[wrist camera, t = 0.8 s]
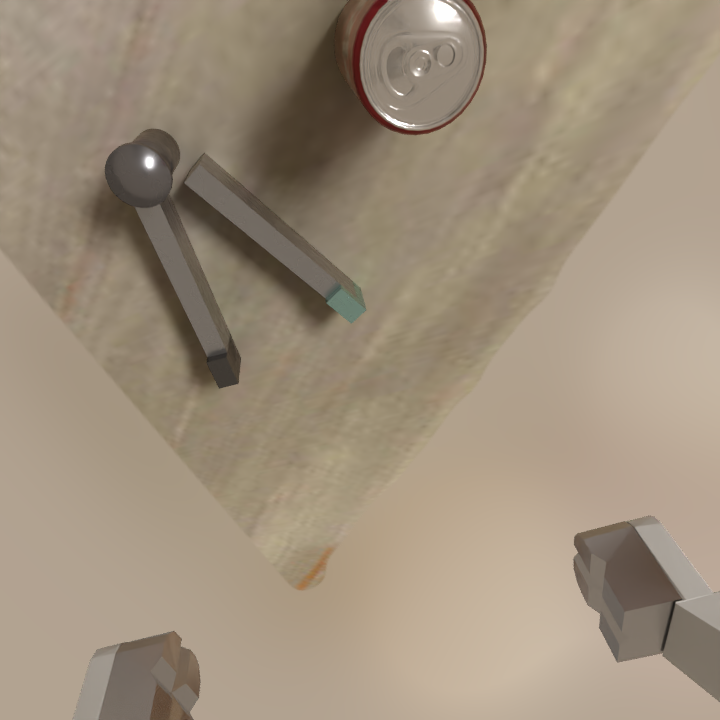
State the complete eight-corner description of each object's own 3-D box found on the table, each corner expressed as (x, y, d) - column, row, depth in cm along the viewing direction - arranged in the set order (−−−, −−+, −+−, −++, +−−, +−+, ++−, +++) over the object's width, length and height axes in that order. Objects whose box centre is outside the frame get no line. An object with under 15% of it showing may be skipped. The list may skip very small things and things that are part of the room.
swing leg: (190, 170, 40) (182, 186, 37) (204, 152, 39) (197, 167, 36) (346, 301, 48) (351, 323, 45) (360, 288, 48) (366, 309, 44)
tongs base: (114, 131, 38) (88, 155, 33) (172, 116, 38) (154, 137, 32) (222, 362, 50) (216, 407, 45) (265, 352, 50) (264, 394, 45)
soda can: (345, 110, 39) (367, 151, 29) (322, -6, 35) (339, -4, 25) (439, 87, 39) (493, 121, 29) (428, -32, 35) (487, -40, 25)
